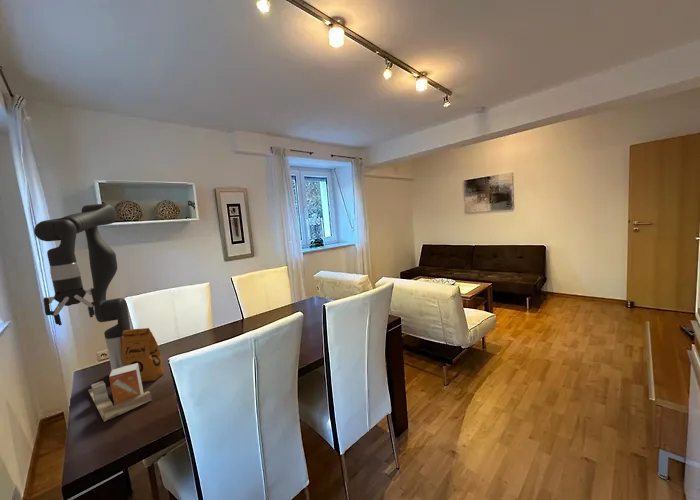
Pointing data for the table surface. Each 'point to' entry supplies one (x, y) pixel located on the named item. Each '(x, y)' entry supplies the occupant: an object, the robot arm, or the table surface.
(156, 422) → the table surface
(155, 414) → the table surface
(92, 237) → the robot arm
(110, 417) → the hooked slat
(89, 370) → the table surface
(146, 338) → the coffee package
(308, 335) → the table surface
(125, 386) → the small box
